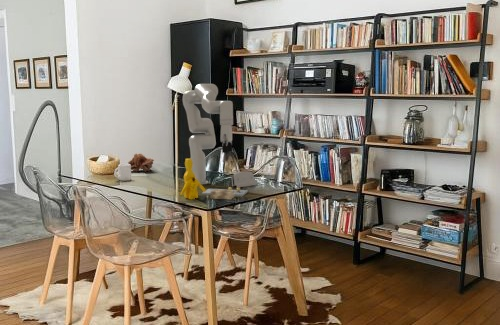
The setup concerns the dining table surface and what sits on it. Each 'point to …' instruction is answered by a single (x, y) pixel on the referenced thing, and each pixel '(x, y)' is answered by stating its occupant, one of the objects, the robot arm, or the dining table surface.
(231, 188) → the brass posts
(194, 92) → the robot arm
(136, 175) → the dining table surface
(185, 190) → the figure statuette
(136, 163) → the mineral specimen
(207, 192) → the white flat slab
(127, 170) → the mug
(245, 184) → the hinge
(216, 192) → the oak panel
